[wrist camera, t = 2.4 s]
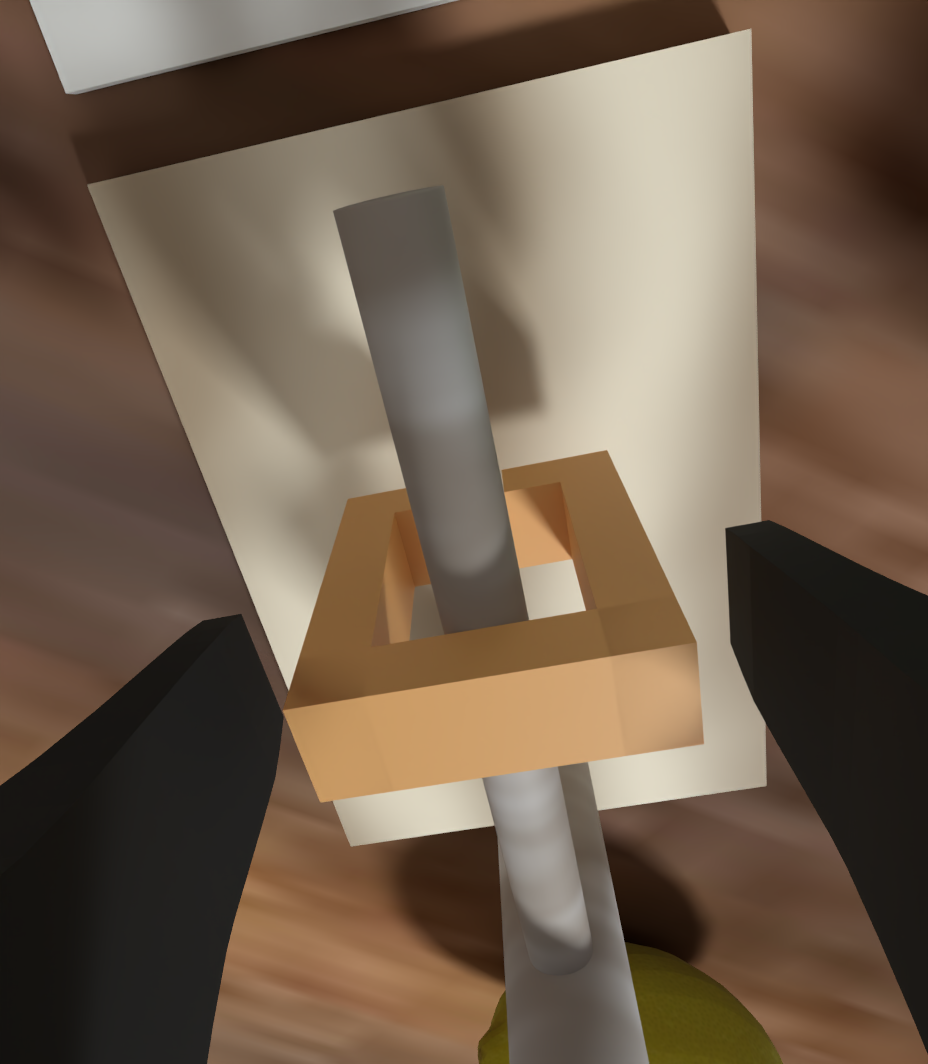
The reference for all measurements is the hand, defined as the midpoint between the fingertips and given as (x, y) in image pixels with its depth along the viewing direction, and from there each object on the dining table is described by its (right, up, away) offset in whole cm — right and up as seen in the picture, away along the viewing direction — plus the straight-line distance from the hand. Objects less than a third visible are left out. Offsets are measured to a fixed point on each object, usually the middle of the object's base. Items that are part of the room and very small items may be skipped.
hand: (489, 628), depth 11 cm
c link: (0, +2, +3) cm, 4 cm away
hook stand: (0, +2, +7) cm, 7 cm away
